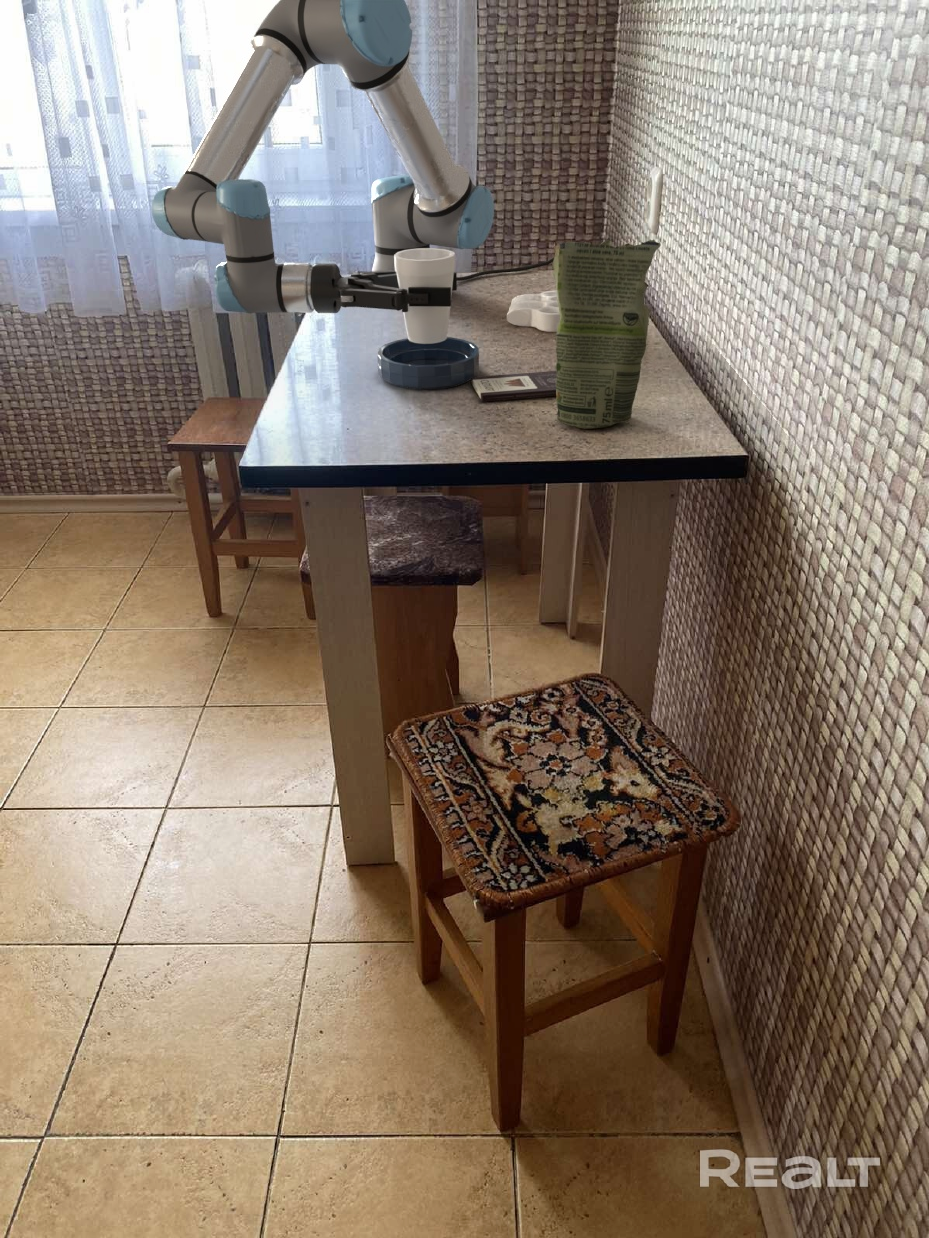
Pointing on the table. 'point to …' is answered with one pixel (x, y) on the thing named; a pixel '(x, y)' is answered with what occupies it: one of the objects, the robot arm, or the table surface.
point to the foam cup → (425, 272)
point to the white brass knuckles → (535, 311)
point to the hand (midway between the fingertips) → (453, 289)
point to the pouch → (600, 330)
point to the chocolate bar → (515, 386)
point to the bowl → (428, 363)
